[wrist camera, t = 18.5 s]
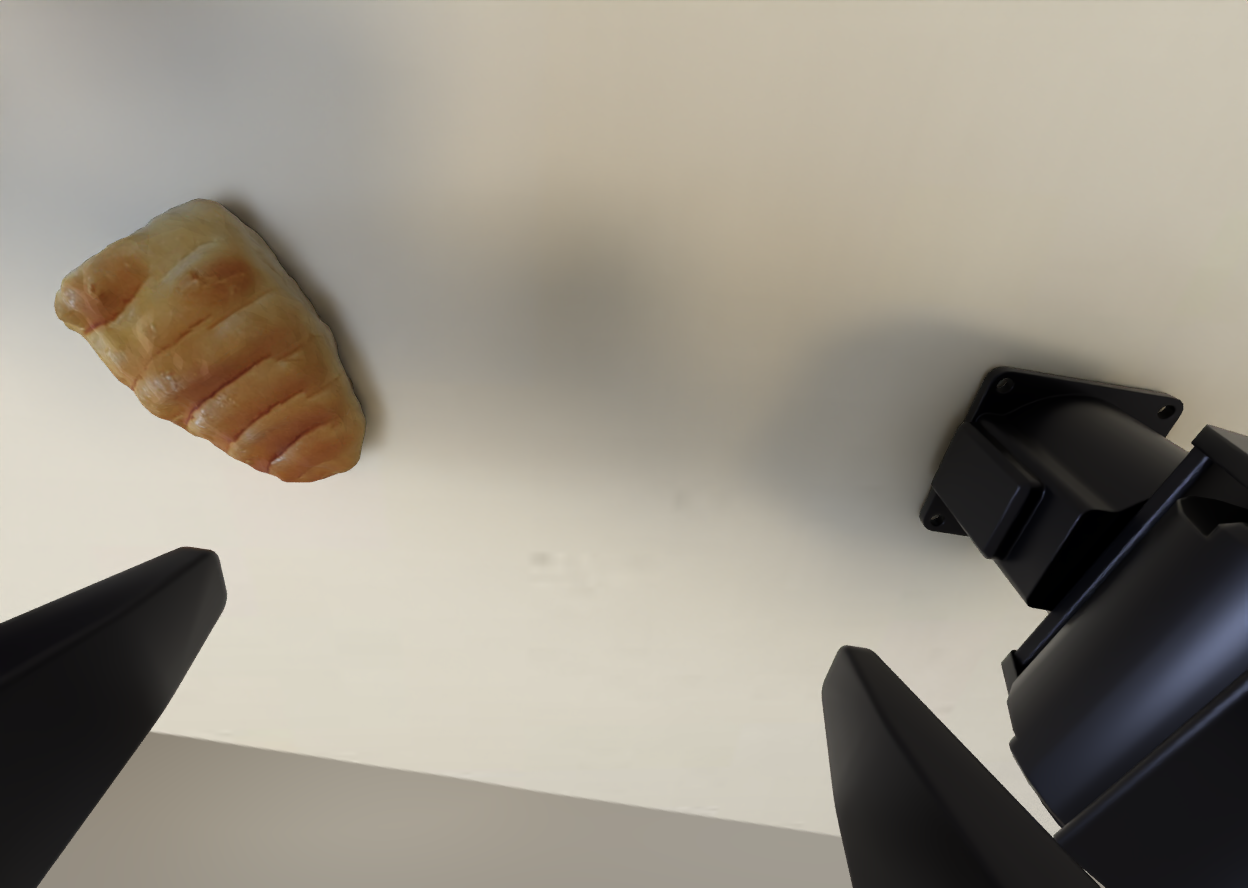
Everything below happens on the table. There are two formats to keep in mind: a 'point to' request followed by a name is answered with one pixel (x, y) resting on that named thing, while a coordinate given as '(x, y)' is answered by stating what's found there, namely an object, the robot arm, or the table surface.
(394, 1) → the table surface
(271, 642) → the table surface
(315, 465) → the pastry
